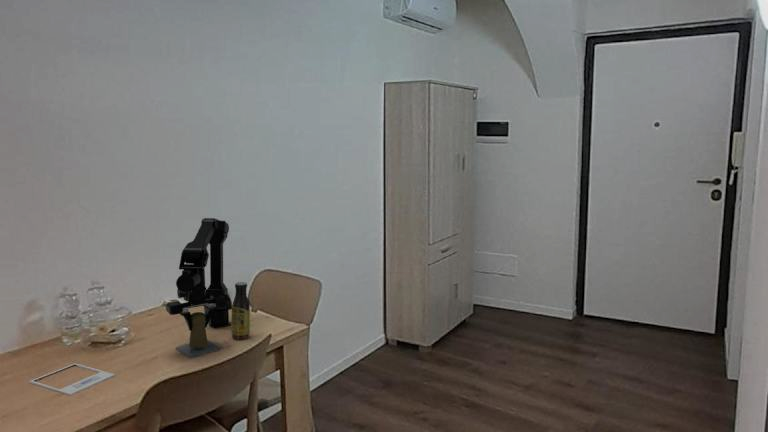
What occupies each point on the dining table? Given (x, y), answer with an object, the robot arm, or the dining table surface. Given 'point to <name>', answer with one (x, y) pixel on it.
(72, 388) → the photo frame
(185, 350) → the slate coaster
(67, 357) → the dining table surface
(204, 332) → the dark olive bulbous piece
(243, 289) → the sauce bottle
